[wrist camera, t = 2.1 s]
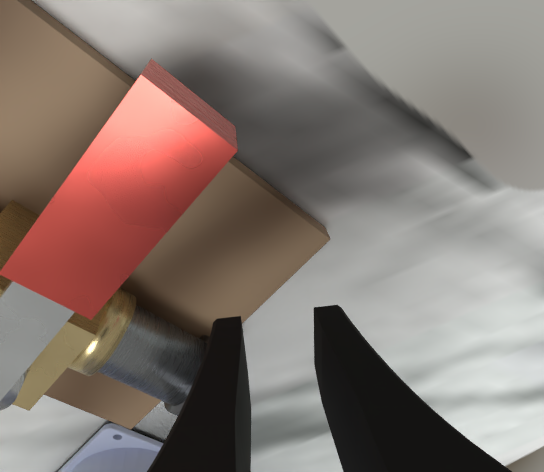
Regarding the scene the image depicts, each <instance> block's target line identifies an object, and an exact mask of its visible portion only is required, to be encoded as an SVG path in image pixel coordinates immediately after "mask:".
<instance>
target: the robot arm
mask: <svg viewBox="0 0 544 472" xmlns="http://www.w3.org/2000/svg"><path fill="white" fill-rule="evenodd" d="M314 364H315V370H316V375H317V380H318V385H319V390H320V395H321V400H322V404H323V407H324V410H325V414H326V417H327V420H328V423H329V427H330V430H331V433H332V436H333V439H334V443H335V446H336V449H337V452H338V455H339V459H340V462H341V465H342V468H343V471H344V472H512V471H510V470H509V469H508V468H506V467H505V466H504V465H502V464H501V463H499V462H498V461H497V460H495V459H494V458H493V457H491V456H490V455H488V454H487V453H486V452H484V451H483V450H482V449H480V448H479V447H478V446H476V445H475V444H473V443H472V442H471V441H470V440H468V439H467V438H466V437H465V436H463V435H462V434H461V433H460V432H459V431H457V430H456V429H455V428H454V427H452V426H451V425H450V424H449V423H448V422H446V421H445V420H444V419H443V418H442V417H441V416H440V415H438V414H437V413H436V412H435V411H434V410H433V409H431V408H430V407H429V406H428V405H427V404H426V403H425V402H424V401H423V400H422V399H421V398H420V397H419V396H418V395H416V394H415V393H414V392H413V391H412V390H411V389H410V388H409V387H408V386H407V385H406V384H405V383H404V382H403V381H402V380H401V379H400V378H399V377H398V376H397V374H396V373H395V372H394V371H393V370H392V369H391V368H390V367H389V366H388V365H387V364H386V363H385V361H384V360H383V359H382V358H381V357H380V356H379V355H378V354H377V353H376V351H375V350H374V349H373V348H372V347H371V346H370V344H369V343H368V342H367V341H366V340H365V338H364V337H363V336H362V335H361V333H360V332H359V331H358V330H357V328H356V327H355V326H354V325H353V323H352V322H351V321H350V319H349V318H348V316H347V315H346V314H345V312H344V311H343V309H342V308H341V307H340V306H338V305H332V306H324V307H315V308H314ZM250 465H251V403H250V392H249V380H248V370H247V362H246V353H245V345H244V337H243V329H242V321H241V316H236V317H227V318H218V319H216V320H215V321H214V322H213V325H212V330H211V334H210V338H209V341H208V345H207V348H206V351H205V354H204V357H203V360H202V362H201V365H200V367H199V370H198V372H197V375H196V377H195V380H194V382H193V385H192V387H191V390H190V392H189V394H188V396H187V398H186V400H185V402H184V405H183V407H182V409H181V411H180V413H179V415H178V417H177V419H176V421H175V423H174V425H173V427H172V429H171V431H170V433H169V435H168V436H167V438H166V440H165V442H164V443H161V442H159V441H156V440H154V439H151V438H149V437H146V436H144V435H141V434H139V433H136V432H134V431H132V430H129V429H127V428H124V427H122V426H119V425H117V424H113V423H109V424H106V425H104V426H103V427H102V428H101V429H100V430H99V431H98V432H97V433H96V434H95V435H94V436H93V437H92V438H91V439H90V440H89V441H88V442H87V443H86V444H85V445H84V446H83V447H82V448H81V449H80V450H79V451H78V452H77V453H76V454H75V455H74V456H73V457H72V458H71V459H70V460H69V461H68V462H67V463H66V464H65V465H64V466H63V467H62V468H61V469H60V470H59V471H58V472H250Z"/></svg>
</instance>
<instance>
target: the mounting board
mask: <svg viewBox="0 0 544 472" xmlns="http://www.w3.org/2000/svg"><path fill="white" fill-rule="evenodd" d="M134 83H135V80H133V79H132V78H131V77H129V76H128V75H127V74H126V73H124V72H123V71H122V70H120V69H119V68H118V67H117V66H115V65H114V64H113V63H111V62H110V61H109V60H107V59H106V58H105V57H104V56H102V55H101V54H100V53H98V52H97V51H96V50H95V49H93V48H92V47H91V46H89V45H88V44H87V43H85V42H84V41H83V40H82V39H80V38H79V37H78V36H76V35H75V34H74V33H72V32H71V31H70V30H69V29H67V28H66V27H65V26H63V25H62V24H61V23H60V22H58V21H57V20H56V19H54V18H53V17H52V16H50V15H49V14H48V13H47V12H45V11H44V10H43V9H41V8H40V7H39V6H38V5H36V4H35V3H34V2H32V1H31V0H0V213H1V212H2V211H3V210H4V208H5V207H6V206H7V205H8V204H9V203H10V201H11V200H13V201H15V202H17V203H19V204H20V205H22V206H24V207H26V208H27V209H29V210H31V211H33V212H34V213H36V214H38V215H40V214H41V213H42V211H43V210H44V208H45V207H46V206H47V204H48V203H49V201H50V200H51V199H52V197H53V196H54V195H55V193H56V192H57V190H58V189H59V188H60V186H61V185H62V183H63V182H64V181H65V179H66V178H67V176H68V175H69V174H70V172H71V171H72V169H73V168H74V167H75V165H76V164H77V162H78V161H79V160H80V158H81V157H82V155H83V154H84V153H85V151H86V150H87V148H88V147H89V146H90V144H91V143H92V141H93V140H94V139H95V137H96V136H97V134H98V133H99V132H100V130H101V129H102V127H103V126H104V125H105V123H106V122H107V120H108V119H109V118H110V116H111V115H112V113H113V112H114V111H115V109H116V108H117V106H118V105H119V104H120V102H121V101H122V99H123V98H124V97H125V95H126V94H127V92H128V91H129V90H130V88H131V87H132V85H133V84H134ZM329 240H330V237H329V235H328V232H327V230H326V228H325V227H324V226H322V225H321V224H320V223H319V222H317V221H316V220H315V219H313V218H312V217H311V216H309V215H308V214H307V213H306V212H304V211H303V210H302V209H300V208H299V207H298V206H297V205H295V204H294V203H293V202H291V201H290V200H289V199H287V198H286V197H285V196H284V195H282V194H281V193H280V192H278V191H277V190H276V189H275V188H273V187H272V186H271V185H269V184H268V183H267V182H265V181H264V180H263V179H262V178H260V177H259V176H258V175H256V174H255V173H254V172H253V171H251V170H250V169H249V168H247V167H246V166H245V165H243V164H242V163H241V162H240V161H238V160H237V159H236V158H234V157H232V158H231V159H230V160H229V161H228V162H227V164H226V165H225V166H224V167H223V168H222V169H221V170H220V172H219V173H218V174H217V175H216V176H215V177H214V179H213V180H212V181H211V182H210V183H209V184H208V186H207V187H206V188H205V189H204V190H203V191H202V192H201V194H200V195H199V196H198V197H197V198H196V199H195V201H194V202H193V203H192V204H191V205H190V206H189V207H188V209H187V210H186V211H185V212H184V213H183V214H182V216H181V217H180V218H179V219H178V220H177V221H176V223H175V224H174V225H173V226H172V227H171V228H170V229H169V231H168V232H167V233H166V234H165V235H164V236H163V238H162V239H161V240H160V241H159V242H158V243H157V244H156V246H155V247H154V248H153V249H152V250H151V251H150V253H149V254H148V255H147V256H146V257H145V258H144V260H143V261H142V262H141V263H140V264H139V265H138V266H137V268H136V269H135V270H134V271H133V272H132V273H131V275H130V276H129V277H128V278H127V279H126V280H125V281H124V283H123V284H122V285H121V286H120V287H119V288H121V289H123V290H125V291H126V292H128V293H130V294H132V295H134V296H135V297H136V305H138V306H140V307H141V308H143V309H145V310H147V311H149V312H151V313H153V314H154V315H156V316H158V317H160V318H162V319H164V320H166V321H167V322H169V323H171V324H173V325H175V326H177V327H179V328H180V329H182V330H184V331H186V332H188V333H190V334H192V335H193V336H195V337H197V338H200V337H201V336H202V335H207V336H209V337H210V334H211V330H212V325H213V322H214V321H215V320H216V319H218V318H227V317H236V316H241V321H242V323H243V322H244V321H245V320H246V319H247V318H248V317H249V316H250V315H252V314H253V313H254V312H255V311H256V310H257V309H258V308H259V307H260V306H261V305H262V304H263V303H264V302H265V301H266V300H267V299H268V298H269V297H270V296H271V295H273V294H274V293H275V292H276V291H277V290H278V289H279V288H280V287H281V286H282V285H283V284H284V283H285V282H286V281H287V280H288V279H289V278H290V277H291V276H292V275H293V274H295V273H296V272H297V271H298V270H299V269H300V268H301V267H302V266H303V265H304V264H305V263H306V262H307V261H308V260H309V259H310V258H311V257H312V256H313V255H314V254H315V253H317V252H318V251H319V250H320V249H321V248H322V247H323V246H324V245H325V244H326V243H327V242H328V241H329ZM44 395H47V396H49V397H52V398H54V399H57V400H59V401H61V402H64V403H66V404H69V405H71V406H74V407H76V408H79V409H81V410H84V411H86V412H89V413H91V414H94V415H96V416H99V417H101V418H104V419H106V420H108V421H111V422H113V423H116V424H118V425H121V426H123V427H126V428H128V429H132V428H133V427H134V426H135V425H136V424H137V423H138V422H139V421H140V420H142V419H143V418H144V417H145V416H146V415H147V414H148V413H149V412H150V411H151V410H152V409H153V408H154V407H155V406H156V405H157V404H158V403H159V402H160V401H161V400H159V399H157V398H154V397H152V396H150V395H148V394H145V393H143V392H141V391H139V390H136V389H134V388H132V387H130V386H128V385H125V384H123V383H121V382H119V381H116V380H114V379H112V378H110V377H108V376H105V375H103V374H101V373H99V372H96V373H95V374H94V375H92V376H86V375H84V374H82V373H80V372H77V371H75V370H73V369H70V368H68V367H67V369H66V370H65V371H64V372H63V373H62V374H61V375H60V376H59V378H58V379H57V380H56V381H55V382H54V383H53V384H52V385H51V387H50V388H49V389H48V390H47V391H46V392H45V393H44Z"/></svg>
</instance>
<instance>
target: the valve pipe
mask: <svg viewBox="0 0 544 472" xmlns="http://www.w3.org/2000/svg"><path fill="white" fill-rule="evenodd" d="M38 217H39V215H38V214H36V213H34V212H33V211H31V210H29V209H27V208H26V207H24V206H22V205H20V204H19V203H17V202H15V201H13V200H11V201H10V203H9V204H8V205H7V206H6V207H5V208H4V210H3V211H2V212H1V213H0V271H1V269H2V268H3V266H4V265H5V264H6V262H7V261H8V259H9V258H10V256H11V255H12V254H13V252H14V251H15V249H16V248H17V246H18V245H19V244H20V242H21V241H22V239H23V238H24V236H25V235H26V234H27V232H28V231H29V229H30V228H31V227H32V225H33V224H34V222H35V221H36V220H37V218H38ZM10 282H11V280H10V279H8V278H6V277H4V276H2V275H0V295H1V294H2V293H3V291H4V290H5V289H6V287H7V286H8V285H9V283H10ZM209 338H210V337H209V336H207V335H202V336H201V337H200V338H197V337H195V336H193V335H192V334H190V333H188V332H186V331H184V330H182V329H180V328H179V327H177V326H175V325H173V324H171V323H169V322H167V321H166V320H164V319H162V318H160V317H158V316H156V315H154V314H153V313H151V312H149V311H147V310H145V309H143V308H141V307H140V306H138V305H136V297H135V296H134V295H132V294H130V293H128V292H126V291H125V290H123V289H121V288H118V290H117V291H116V292H115V293H114V294H113V295H112V297H111V298H110V299H109V300H108V301H107V302H106V303H105V305H104V306H103V307H102V308H101V309H100V310H99V312H98V313H97V314H96V315H95V316H94V317H93V318H92V320H90V319H88V318H86V317H84V316H82V315H80V314H78V313H76V312H75V313H74V314H73V315H72V316H71V317H70V319H69V320H68V321H67V322H66V323H65V325H64V326H63V327H62V328H61V329H60V330H59V332H58V333H57V334H56V335H55V336H54V338H53V339H52V340H51V341H50V342H49V344H48V345H47V346H46V347H45V348H44V350H43V351H42V352H41V353H40V354H39V356H38V357H37V358H36V359H35V360H34V362H33V363H32V365H31V368H30V370H29V372H28V374H27V376H26V378H25V381H24V383H23V385H22V387H21V389H20V392H19V394H18V396H17V398H16V400H15V401H14V402H13V403H12V404H13V405H16V406H19V407H21V408H24V409H26V410H30V409H31V408H32V407H33V406H34V405H35V403H36V402H37V401H38V400H39V399H40V398H41V397H42V396H43V394H44V393H45V392H46V391H47V390H48V389H49V388H50V387H51V385H52V384H53V383H54V382H55V381H56V380H57V379H58V378H59V376H60V375H61V374H62V373H63V372H64V371H65V370H66V369H67V367H68V368H70V369H73V370H75V371H77V372H80V373H82V374H84V375H86V376H92V375H94V374H95V373H96V372H99V373H101V374H103V375H105V376H108V377H110V378H112V379H114V380H116V381H119V382H121V383H123V384H125V385H128V386H130V387H132V388H134V389H136V390H139V391H141V392H143V393H145V394H148V395H150V396H152V397H154V398H157V399H159V400H161V401H163V402H164V404H165V408H166V409H167V411H168V412H170V413H173V414H175V415H177V416H178V415H179V413H180V411H181V409H182V407H183V405H184V402H185V400H186V398H187V396H188V394H189V392H190V390H191V387H192V385H193V382H194V380H195V377H196V375H197V372H198V370H199V367H200V365H201V362H202V360H203V357H204V354H205V351H206V348H207V345H208V341H209Z"/></svg>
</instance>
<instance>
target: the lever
mask: <svg viewBox="0 0 544 472" xmlns="http://www.w3.org/2000/svg"><path fill="white" fill-rule="evenodd" d="M237 151H238V148H237V139H236V130H235V126H234V125H233V124H232V123H230V122H229V121H228V120H227V119H225V118H224V117H223V116H222V115H220V114H219V113H218V112H217V111H216V110H214V109H213V108H212V107H211V106H209V105H208V104H207V103H206V102H204V101H203V100H202V99H201V98H199V97H198V96H197V95H196V94H195V93H193V92H192V91H191V90H190V89H188V88H187V87H186V86H185V85H183V84H182V83H181V82H180V81H178V80H177V79H176V78H175V77H174V76H172V75H171V74H170V73H169V72H167V71H166V70H165V69H164V68H162V67H161V66H160V65H159V64H157V63H156V62H155V61H154V60H153V59H151V60H150V62H149V63H148V64H147V66H146V67H145V69H144V70H143V71H142V73H141V74H140V76H139V77H138V78H137V80H136V81H135V83H134V84H133V85H132V87H131V88H130V90H129V91H128V92H127V94H126V95H125V97H124V98H123V99H122V101H121V102H120V104H119V105H118V106H117V108H116V109H115V111H114V112H113V113H112V115H111V116H110V118H109V119H108V120H107V122H106V123H105V125H104V126H103V127H102V129H101V130H100V132H99V133H98V134H97V136H96V137H95V139H94V140H93V141H92V143H91V144H90V146H89V147H88V148H87V150H86V151H85V153H84V154H83V155H82V157H81V158H80V160H79V161H78V162H77V164H76V165H75V167H74V168H73V169H72V171H71V172H70V174H69V175H68V176H67V178H66V179H65V181H64V182H63V183H62V185H61V186H60V188H59V189H58V190H57V192H56V193H55V195H54V196H53V197H52V199H51V200H50V201H49V203H48V204H47V206H46V207H45V208H44V210H43V211H42V213H41V214H40V215H39V217H38V218H37V220H36V221H35V222H34V224H33V225H32V227H31V228H30V229H29V231H28V232H27V234H26V235H25V236H24V238H23V239H22V241H21V242H20V244H19V245H18V246H17V248H16V249H15V251H14V252H13V254H12V255H11V256H10V258H9V259H8V261H7V262H6V264H5V265H4V266H3V268H2V269H1V271H0V275H2V276H4V277H6V278H8V279H10V280H11V282H10V283H9V285H8V286H7V287H6V289H5V290H4V291H3V293H2V294H1V295H0V410H3V409H5V408H7V407H9V406H10V405H11V404H12V403H13V402H14V401H15V400H16V398H17V396H18V394H19V392H20V389H21V387H22V385H23V383H24V381H25V378H26V376H27V374H28V372H29V370H30V368H31V365H32V363H33V362H34V360H35V359H36V358H37V357H38V356H39V354H40V353H41V352H42V351H43V350H44V348H45V347H46V346H47V345H48V344H49V342H50V341H51V340H52V339H53V338H54V336H55V335H56V334H57V333H58V332H59V330H60V329H61V328H62V327H63V326H64V325H65V323H66V322H67V321H68V320H69V319H70V317H71V316H72V315H73V314H74V313H75V312H76V313H78V314H80V315H82V316H84V317H86V318H88V319H90V320H92V318H93V317H94V316H95V315H96V314H97V313H98V312H99V310H100V309H101V308H102V307H103V306H104V305H105V303H106V302H107V301H108V300H109V299H110V298H111V297H112V295H113V294H114V293H115V292H116V291H117V290H118V288H119V287H120V286H121V285H122V284H123V283H124V281H125V280H126V279H127V278H128V277H129V276H130V275H131V273H132V272H133V271H134V270H135V269H136V268H137V266H138V265H139V264H140V263H141V262H142V261H143V260H144V258H145V257H146V256H147V255H148V254H149V253H150V251H151V250H152V249H153V248H154V247H155V246H156V244H157V243H158V242H159V241H160V240H161V239H162V238H163V236H164V235H165V234H166V233H167V232H168V231H169V229H170V228H171V227H172V226H173V225H174V224H175V223H176V221H177V220H178V219H179V218H180V217H181V216H182V214H183V213H184V212H185V211H186V210H187V209H188V207H189V206H190V205H191V204H192V203H193V202H194V201H195V199H196V198H197V197H198V196H199V195H200V194H201V192H202V191H203V190H204V189H205V188H206V187H207V186H208V184H209V183H210V182H211V181H212V180H213V179H214V177H215V176H216V175H217V174H218V173H219V172H220V170H221V169H222V168H223V167H224V166H225V165H226V164H227V162H228V161H229V160H230V159H231V158H232V157H233V155H234V154H235V153H236V152H237Z"/></svg>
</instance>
